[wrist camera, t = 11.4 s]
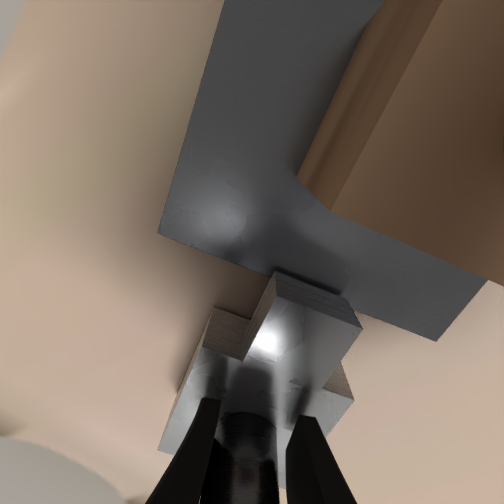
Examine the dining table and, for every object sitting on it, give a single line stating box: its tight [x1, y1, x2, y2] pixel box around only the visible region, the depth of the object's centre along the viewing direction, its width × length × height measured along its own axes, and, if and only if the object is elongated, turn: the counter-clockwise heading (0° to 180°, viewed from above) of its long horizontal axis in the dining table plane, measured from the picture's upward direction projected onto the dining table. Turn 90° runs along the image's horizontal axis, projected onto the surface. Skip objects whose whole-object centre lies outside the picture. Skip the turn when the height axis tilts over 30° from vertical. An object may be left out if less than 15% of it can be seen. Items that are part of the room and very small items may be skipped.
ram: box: [158, 271, 363, 504], centre depth 9 cm, size 6×9×7 cm, turn 158°
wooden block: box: [296, 0, 504, 286], centre depth 6 cm, size 4×4×6 cm
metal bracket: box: [157, 0, 488, 341], centre depth 8 cm, size 12×12×3 cm
